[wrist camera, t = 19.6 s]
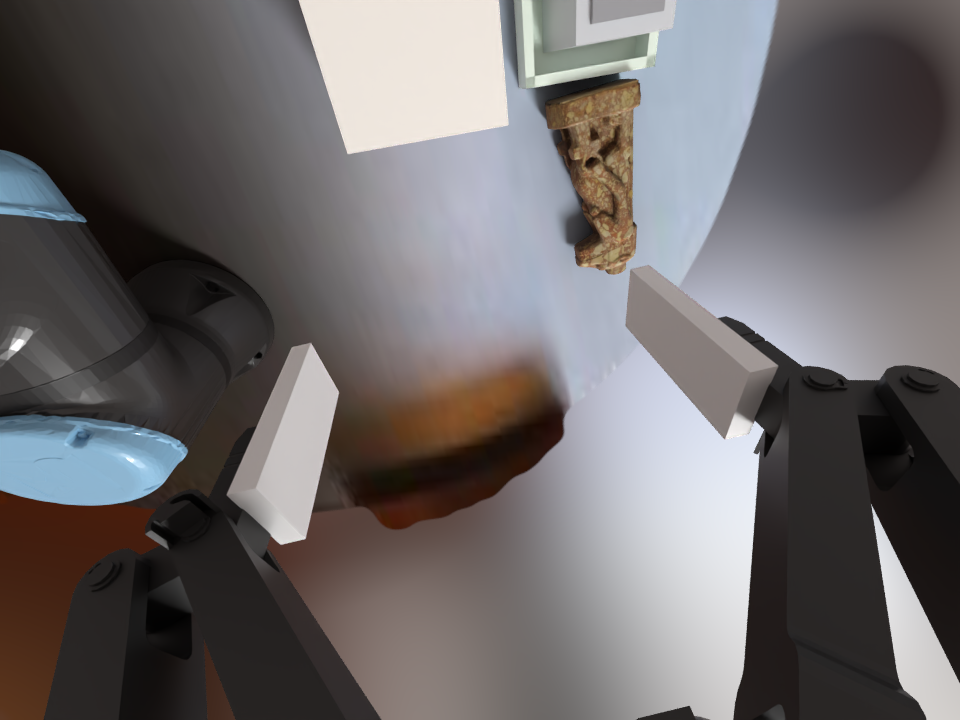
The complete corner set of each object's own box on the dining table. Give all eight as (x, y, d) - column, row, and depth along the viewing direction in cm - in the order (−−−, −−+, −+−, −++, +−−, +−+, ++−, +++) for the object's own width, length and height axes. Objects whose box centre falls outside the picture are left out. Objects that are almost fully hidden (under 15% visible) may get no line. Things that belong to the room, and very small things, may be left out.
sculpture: (620, 76, 36) (646, 75, 32) (622, 257, 47) (642, 273, 43) (538, 103, 36) (554, 105, 32) (561, 275, 48) (574, 293, 44)
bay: (369, 133, 36) (347, 154, 26) (331, -1, 30) (285, -41, 20) (484, 112, 36) (508, 125, 26) (469, -25, 30) (492, -77, 20)
